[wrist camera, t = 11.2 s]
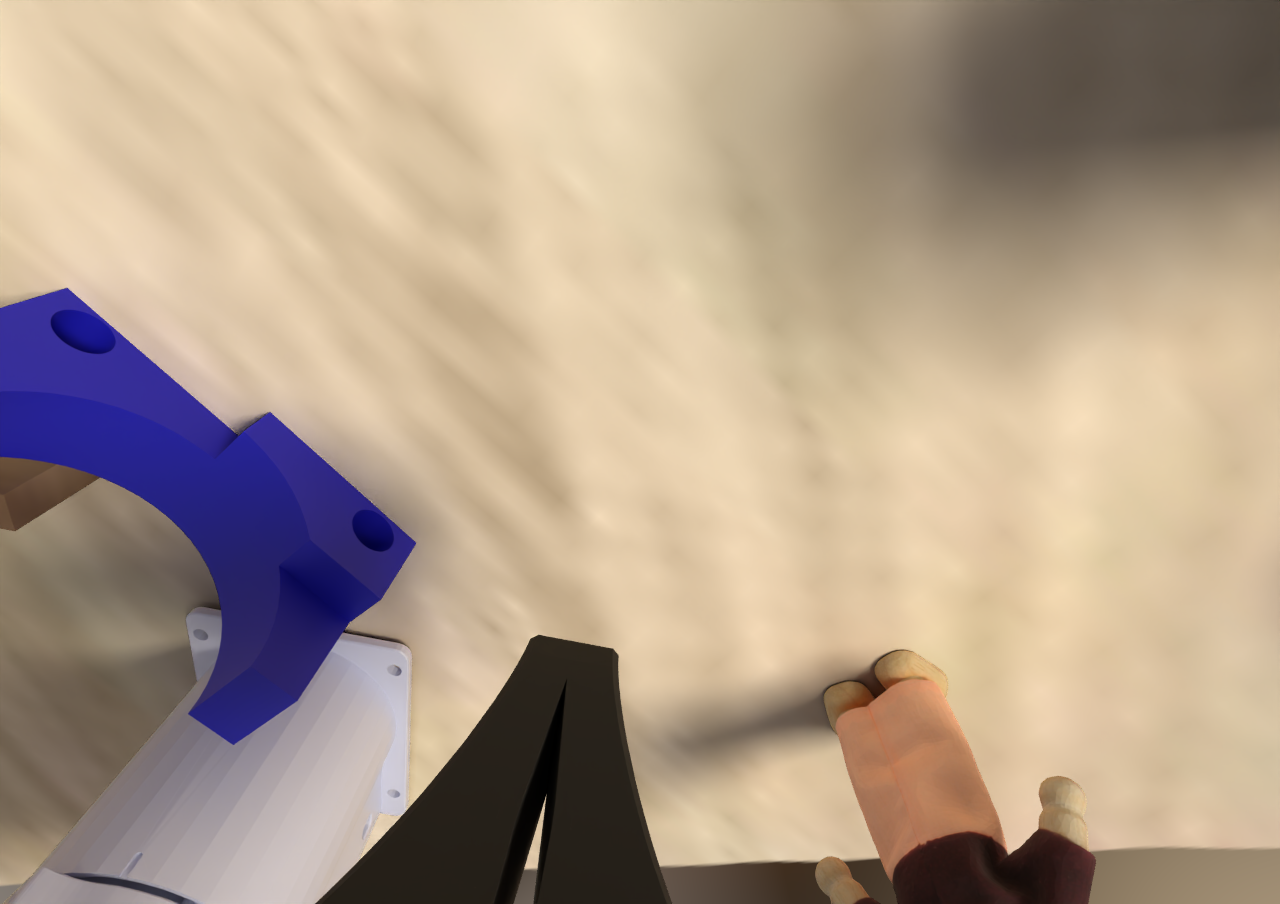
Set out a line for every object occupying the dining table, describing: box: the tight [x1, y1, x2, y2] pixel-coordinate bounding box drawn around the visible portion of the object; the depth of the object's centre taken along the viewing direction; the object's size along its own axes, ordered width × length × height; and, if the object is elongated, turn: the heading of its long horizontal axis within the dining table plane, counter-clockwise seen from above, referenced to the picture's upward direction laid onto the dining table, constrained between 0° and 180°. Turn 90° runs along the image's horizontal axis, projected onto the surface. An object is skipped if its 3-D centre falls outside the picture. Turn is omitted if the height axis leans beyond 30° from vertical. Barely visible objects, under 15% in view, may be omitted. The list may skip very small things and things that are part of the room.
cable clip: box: [0, 288, 416, 745], centre depth 19 cm, size 12×4×6 cm, turn 40°
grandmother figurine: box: [816, 650, 1096, 904], centre depth 18 cm, size 8×4×13 cm, turn 142°
